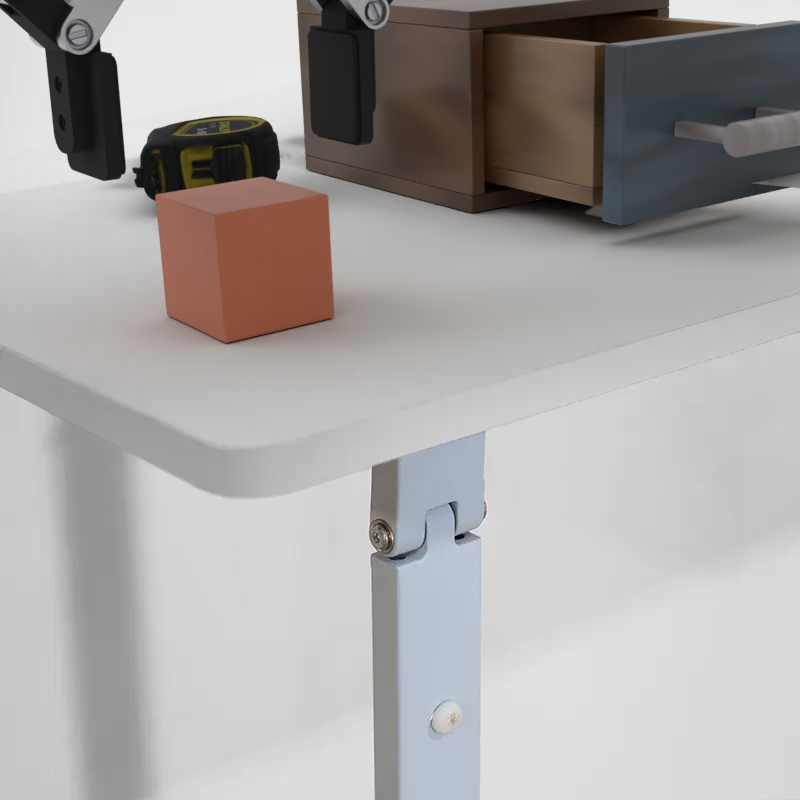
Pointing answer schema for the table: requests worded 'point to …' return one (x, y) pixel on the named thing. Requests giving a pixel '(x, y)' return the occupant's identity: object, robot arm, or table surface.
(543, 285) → the table surface
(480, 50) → the cabinet
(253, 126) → the tape measure
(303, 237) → the block
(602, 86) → the drawer
